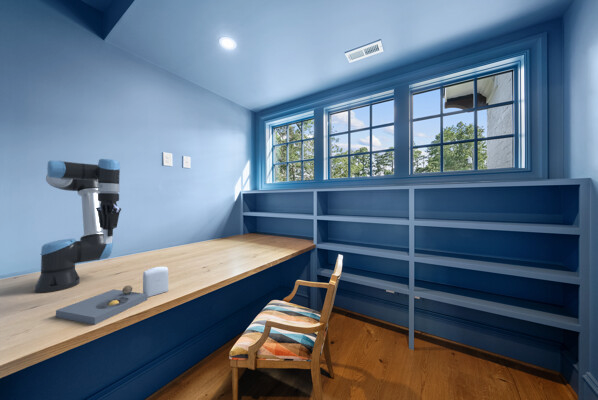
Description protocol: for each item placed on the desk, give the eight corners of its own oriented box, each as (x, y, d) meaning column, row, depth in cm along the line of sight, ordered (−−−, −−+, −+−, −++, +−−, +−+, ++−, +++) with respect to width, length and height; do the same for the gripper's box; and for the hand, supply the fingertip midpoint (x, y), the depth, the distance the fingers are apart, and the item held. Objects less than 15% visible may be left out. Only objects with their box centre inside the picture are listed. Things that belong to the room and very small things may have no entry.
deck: (55, 316, 81) (55, 310, 81) (113, 294, 101) (113, 289, 101) (94, 324, 76) (94, 317, 76) (147, 299, 96) (147, 294, 96)
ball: (104, 306, 86) (108, 300, 86) (113, 302, 89) (118, 296, 89) (109, 313, 85) (113, 307, 85) (118, 309, 89) (123, 303, 88)
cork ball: (120, 294, 95) (120, 286, 95) (128, 291, 98) (128, 283, 98) (126, 295, 94) (126, 287, 94) (134, 292, 97) (134, 284, 97)
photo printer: (144, 298, 97) (144, 271, 97) (141, 296, 99) (141, 269, 99) (169, 291, 104) (170, 265, 105) (166, 289, 107) (166, 264, 107)
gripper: (89, 192, 99) (88, 243, 99) (109, 192, 96) (108, 245, 96) (107, 192, 106) (107, 240, 107) (127, 193, 103) (126, 242, 103)
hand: (108, 243), depth 101 cm, fingers closed
